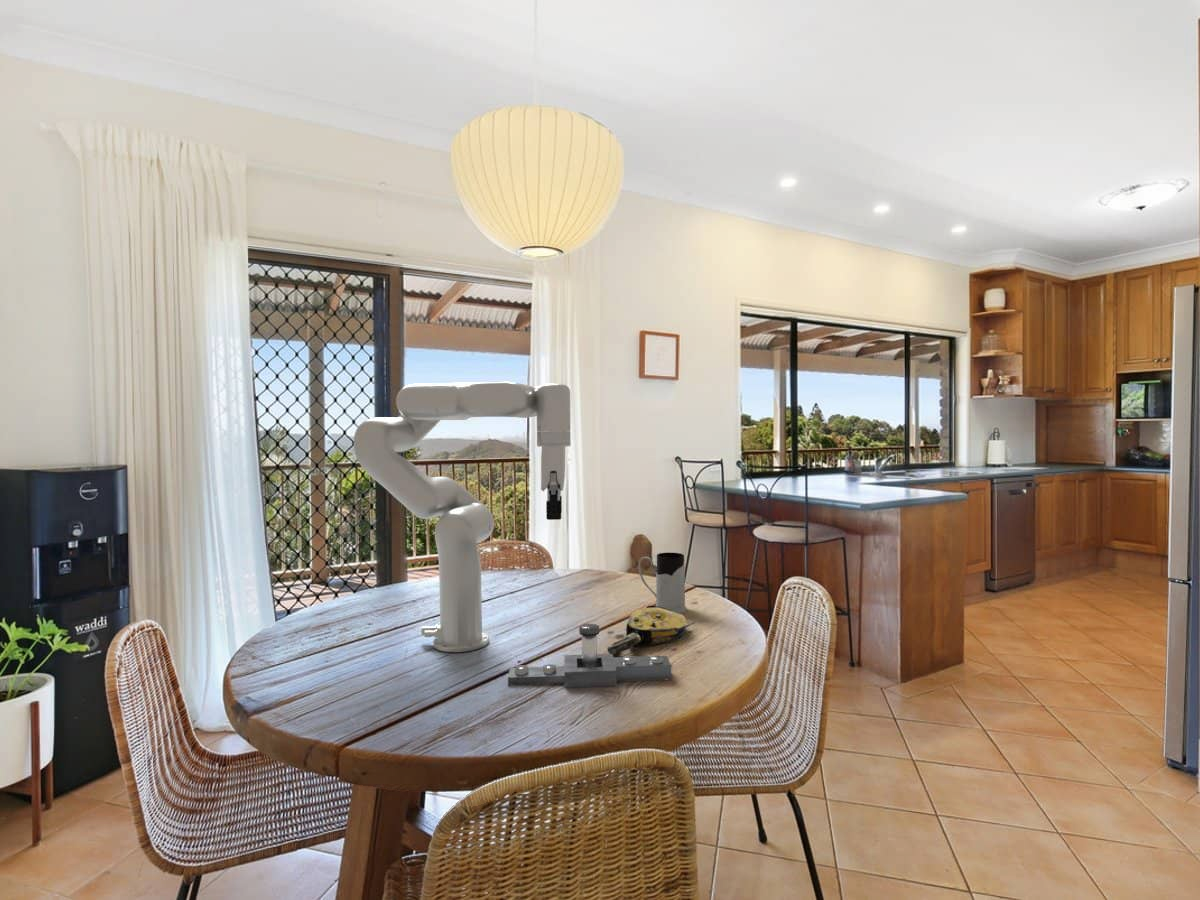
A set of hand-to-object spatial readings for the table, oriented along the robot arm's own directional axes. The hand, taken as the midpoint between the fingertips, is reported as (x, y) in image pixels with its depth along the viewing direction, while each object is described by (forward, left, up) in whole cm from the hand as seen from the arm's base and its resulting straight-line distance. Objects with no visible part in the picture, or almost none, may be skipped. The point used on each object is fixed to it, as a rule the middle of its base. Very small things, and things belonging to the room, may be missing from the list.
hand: (554, 516), depth 137 cm
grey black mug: (+29, +31, -31) cm, 52 cm away
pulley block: (+21, +5, -31) cm, 38 cm away
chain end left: (+2, -16, -30) cm, 34 cm away
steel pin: (+7, -16, -30) cm, 35 cm away
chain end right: (+12, -16, -30) cm, 36 cm away
